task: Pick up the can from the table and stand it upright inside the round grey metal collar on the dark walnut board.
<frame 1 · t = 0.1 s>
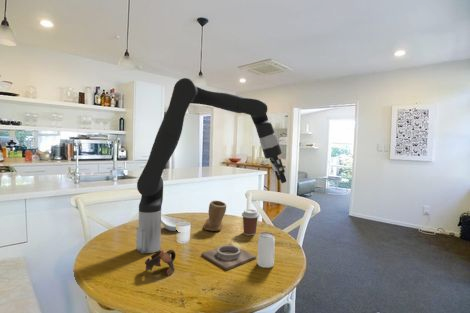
hand: (281, 180, 111), 31 cm above the table, tool tilted 20°, fingers open, 8 cm apart
brown boot vase: (215, 228, 141), on the table
coffee cup: (249, 233, 134), on the table
collar board: (228, 256, 105), on the table
can: (265, 265, 100), on the table
spoon rest: (164, 228, 138), on the table
brown arched figurine: (162, 271, 93), on the table
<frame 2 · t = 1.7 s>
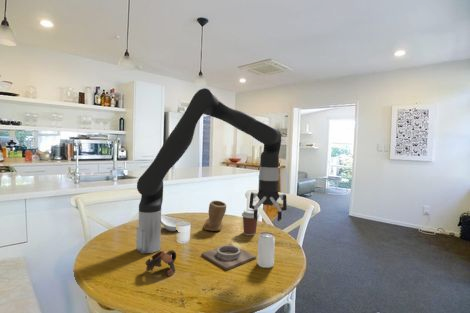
hand: (267, 219, 99), 18 cm above the table, tool pointing down, fingers open, 8 cm apart
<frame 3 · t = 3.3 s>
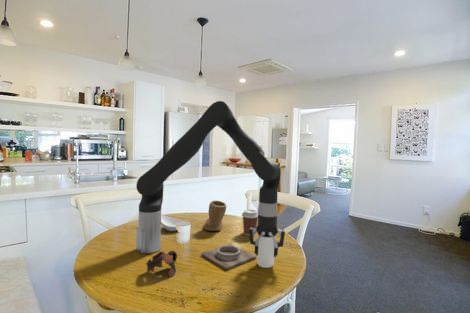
hand: (265, 255, 99), 4 cm above the table, tool pointing down, fingers closed on can, 6 cm apart
can: (265, 265, 100), on the table, touching gripper
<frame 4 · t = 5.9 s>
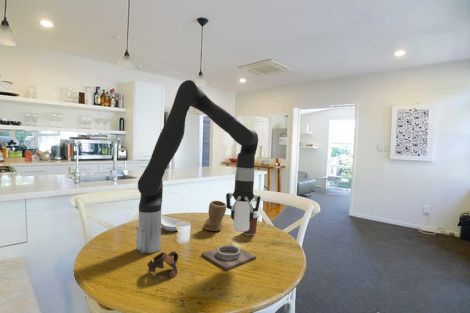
hand: (241, 220, 102), 16 cm above the table, tool pointing down, fingers closed on can, 6 cm apart
can: (241, 229, 102), point 13 cm above the table, touching gripper
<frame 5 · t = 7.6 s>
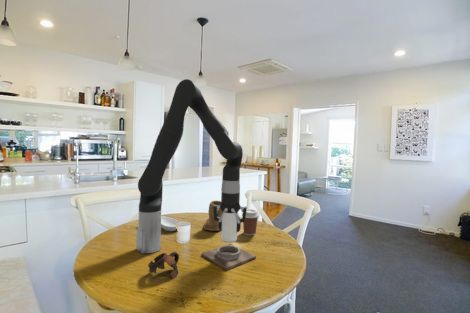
hand: (229, 230, 105), 11 cm above the table, tool pointing down, fingers closed on can, 6 cm apart
can: (229, 240, 105), point 7 cm above the table, touching gripper
when the fingers open (7 cm above the table, at t = 8.8 s): can drops 2 cm, resting on collar board.
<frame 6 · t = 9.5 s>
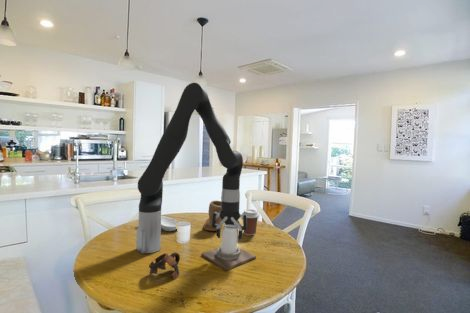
hand: (229, 238, 105), 8 cm above the table, tool pointing down, fingers open, 8 cm apart
can: (228, 254, 105), point 1 cm above the table, touching collar board
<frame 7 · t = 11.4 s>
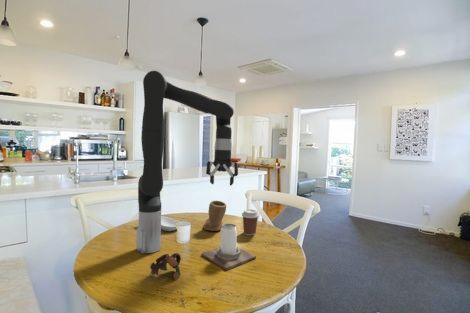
hand: (221, 184, 115), 28 cm above the table, tool pointing down, fingers open, 8 cm apart
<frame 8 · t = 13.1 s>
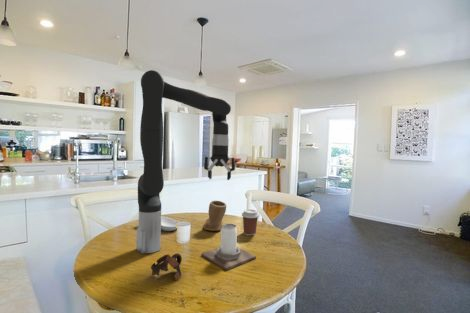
hand: (219, 179, 119), 30 cm above the table, tool pointing down, fingers open, 8 cm apart
at the end: can 0.2 cm off-centre on the collar board, point 0.8 cm above the collar board's base; can tilted 0°; the gripper is holding nothing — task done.
